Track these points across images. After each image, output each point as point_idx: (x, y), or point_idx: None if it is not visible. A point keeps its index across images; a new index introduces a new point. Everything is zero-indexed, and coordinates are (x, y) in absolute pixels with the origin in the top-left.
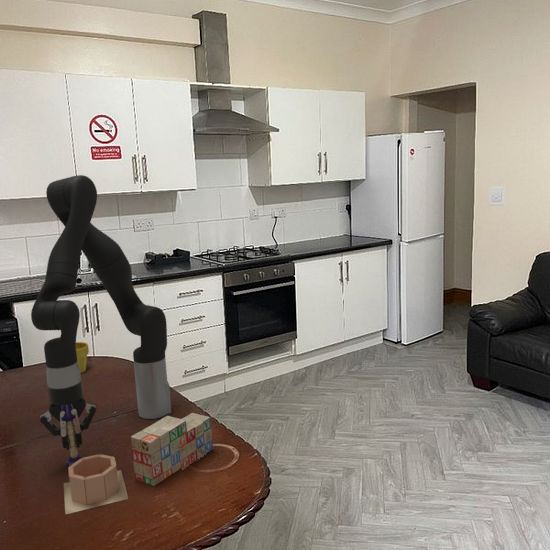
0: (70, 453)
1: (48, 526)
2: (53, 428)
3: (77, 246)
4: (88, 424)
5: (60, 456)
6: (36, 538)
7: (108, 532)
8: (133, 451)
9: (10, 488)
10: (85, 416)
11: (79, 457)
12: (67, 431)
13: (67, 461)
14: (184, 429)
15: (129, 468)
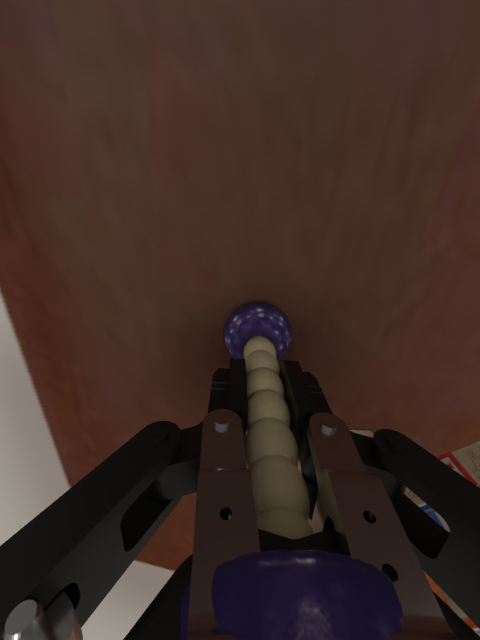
0: (245, 359)
1: (171, 533)
2: (139, 546)
3: None
4: (408, 519)
5: (205, 199)
6: (150, 552)
7: None
8: (455, 610)
9: (41, 357)
10: (451, 507)
11: (276, 354)
12: (248, 466)
13: (228, 344)
14: None
15: (403, 410)
